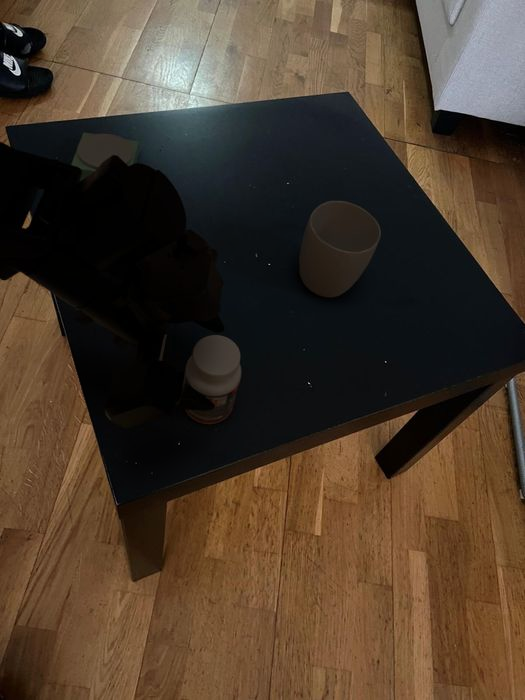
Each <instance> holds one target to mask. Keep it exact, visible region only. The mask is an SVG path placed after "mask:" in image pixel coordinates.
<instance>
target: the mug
mask: <svg viewBox="0 0 525 700" xmlns="http://www.w3.org/2000/svg"><path fill="white" fill-rule="evenodd" d="M380 239H381V227H380V225H379V222H378V220H377V219H376V218H375V217H374V216H373V215H372V214H371V213H370V212H369V211H367V210H366V209H364V208H362V207H361V206H359V205H357V204H354V203H352V202H349V201H345V200H329V201H326V202H323V203H322V204H319V205H317V207H315V209H314V210H313V211H312V213H311V214H310V217H309V218H308V221H307V224H306V227H305V230H304V232H303V237H302V242H301V245H300V246H301V247H300V252H299V257H298V264H299V265H298V267H299V269H298V270H299V277H300V280H301V281H302V283H303V285H304V286H305V287H306V288H307V289H308V290H309V291H310V292H313V293H314V294H316V295H317V296H320V297H323V298H328V299H329V298H336V297H340V296H341V295H343V294H344V293H346V292H347V291H349V290H350V289H351V288H352V287H353V286H354V284H356V282H357V281H358V280H359V279H360V277H361V275H362V274H363V273H364V272H365V270H366V268H367V267H368V266H369V264H370V262H371V260H372V258H373V255H374V254H375V252H376V250H377V247H378V244H379V243H380Z"/></svg>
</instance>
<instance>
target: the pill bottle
mask: <svg viewBox="0 0 525 700" xmlns="http://www.w3.org/2000/svg"><path fill="white" fill-rule="evenodd" d="M240 362H241V351H240V349H239V347H238V345H237V344H236V343H235V342H234V341H233V340H232V339H230V338H229V337H226V336H223V335H220V334H211V335H207V336H204V337H203V338H201V339H199V340H198V341H197V342H196V343H195V345H194V347H193V349H192V354H191V356H190V357H189V358H188V360H187V362H186V365H185V370H184V372H185V383H186V384H188V385H189V386H191V387H192V388H194V389H195V390H197V391H198V392H200V393H201V394H203V395H204V396H206V397H207V398H208V399H209V400H210V401H212V402H213V403H214V404H215V408H214V409H212V410H208V411H201V410H186V409H184V411H185V413H186V414H187V416H189V417H190V418H191V419H192V420H194V421H195V422H198V423H200V424H203V425H215V424H218V423H221V422H222V421H224V420H225V419H227V418H228V417H229V416H230V415H231V413H232V411H233V409H234V406H235V402H236V399H237V394H238V390H239V386H240V383H241V378H242V366H241V363H240Z"/></svg>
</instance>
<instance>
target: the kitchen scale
mask: <svg viewBox="0 0 525 700" xmlns="http://www.w3.org/2000/svg"><path fill="white" fill-rule="evenodd" d="M112 155H117V156H118V157H119V158H121V159H122V160H123V161H124V162H125V163H126V164H127V165H128V166H130V165H132V164H135V163H138V159H139V156H140V142H139V141H138V140H131V139H127V138H126V139H125V138H123V137H122V136H119V135H116V134H113V133H92V132H91V133H90V132H83V133H82V136H81V138H80V140H79V142H78V145H77V148H76V150H75V153H74V156H73V158H72V161H71V163H70V165H73V166H77V167H79V168H80V169H81V170H82V175H81V178H80V180H79V182H81V181H82V180H83V179H85V178H86V177H88V176H89V175H91V174H92V173H93V172H95V171H96V170H97V169H98V167H99V166H100V165H101V163H103V162H104V161H105V160H106V159H108V158H109V157H111V156H112Z"/></svg>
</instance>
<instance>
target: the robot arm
mask: <svg viewBox="0 0 525 700" xmlns="http://www.w3.org/2000/svg"><path fill="white" fill-rule="evenodd" d="M81 175H82V170H81V169H80V168H79V167H77V166H73V165H71V164H69V163H66V162H62V161H59V159H53V158H48V157H44V156H40V155H37V154H34V153H30V152H27V151H23V150H19V149H16V148H15V147H12V146H11V145H8V144H6V143H4V142H2V141H0V281H7V280H10V279H11V278H13V277H14V276H16V275H18V274H19V273H21V274H23V275H24V276H25V277H27V278H28V279H30V280H32V281H33V282H34V283H36V284H38V285H39V286H41V287H43V288H44V289H45V290H46V291H49V292H50V293H52V294H53V295H54V296H56V297H58V298H59V299H60V300H62V301H64V303H66V304H68V305H69V306H71V307H72V308H74V309H76V313H75V316H74V320H75V321H76V322H78V323H79V324H80V325H82V326H87V325H89V324H90V323H92V322H95V323H96V324H98V325H100V326H101V327H103V328H104V329H105V330H107V331H108V332H110V333H111V334H113V335H114V336H113V341H112V343H111V345H112V346H115V347H116V348H118V349H119V350H123V349H125V348H127V347H130V346H132V347H133V348H136V354H135V359H134V362H133V365H131V366H129V367H126V368H123V369H121V370H119V371H116V372H114V373H113V374H112V378H111V383H110V387H109V390H108V394H107V398H106V402H105V407H104V412H105V416H106V418H108V420H109V421H110V422H112V423H114V424H116V425H118V426H119V427H121V428H123V429H126V430H127V429H129V428H133V427H135V426H140V425H143V424H146V423H149V422H152V421H155V420H158V419H161V418H165V417H168V416H170V415H171V413H172V412H173V411H174V410H185V409H186V410H201V411H208V410H212V409H214V408H215V404H214V403H213V402H212V401H210V400H209V399H208V398H207V397H206V396H204V395H203V394H201V393H200V392H198V391H197V390H195V389H194V388H192V387H191V386H189V385H188V384H186V383H185V371H181V372H177V369H176V367H175V366H174V365H172V364H171V363H169V362H167V361H165V360H163V358H164V357H163V356H164V352H165V346H166V342H167V336H168V334H170V328H171V324H172V325H175V324H182V323H191V322H193V323H195V324H196V325H199V326H200V327H202V328H204V329H206V330H209V331H211V332H213V333H215V334H219V333H222V332H224V331H225V325H224V323H223V321H222V319H221V318H220V316H219V314H220V312H221V299H222V291H223V288H224V285H225V284H224V279H223V277H222V275H221V273H220V272H219V269H218V268H217V260H218V251H217V250H216V249H214V248H211V247H210V245H209V244H208V242H207V241H206V240H205V239H204V238H203V237H202V236H200V235H199V234H198V233H197V232H195V231H194V230H192V229H191V228H190V229H187V215H186V209H185V206H184V203H183V200H182V198H181V196H180V194H179V192H178V190H177V189H176V188H175V186H174V185H173V183H172V181H171V180H170V179H169V178H168V177H167V176H166V175H165V173H163V172H162V171H161V170H160V169H155V168H154V167H151V166H150V165H147V164H144V163H142V162H141V163H139V162H137V163H135V164H132V165H130V166H128V165H127V164H126V163H125V162H124V161H123V160H122V159H121V158H119V157H118V156H117V155H112V156H111V157H109V158H108V159H106V160H105V161H104V162H103V163H101V165H100V166H99V167H98V169H97V170H96V171H95V172H93V173H92V174H91V175H89V176H88V177H86V178H85V179H83V180H82V181H79V180H80V178H81ZM39 190H44V191H43V192H42V195H41V197H40V200H39V202H38V204H37V206H36V209H35V210H34V213H33V216H32V218H31V220H30V222H29V225H28V226H27V227H24V225H25V223H26V220H27V218H28V215H29V213H30V212H31V209H32V206H33V204H34V202H35V200H36V197H37V194H38V191H39Z"/></svg>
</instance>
